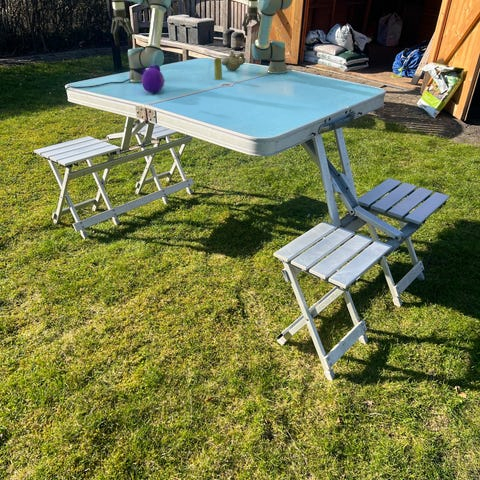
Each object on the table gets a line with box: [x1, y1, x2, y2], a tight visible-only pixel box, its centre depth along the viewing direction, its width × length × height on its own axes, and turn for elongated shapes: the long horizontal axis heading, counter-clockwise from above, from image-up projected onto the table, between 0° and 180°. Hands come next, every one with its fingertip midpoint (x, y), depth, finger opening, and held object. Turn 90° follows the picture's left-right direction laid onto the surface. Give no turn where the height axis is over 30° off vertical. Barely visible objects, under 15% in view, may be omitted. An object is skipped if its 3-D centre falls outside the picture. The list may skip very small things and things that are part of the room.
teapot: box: [221, 50, 246, 72], centre depth 365 cm, size 21×12×15 cm, turn 120°
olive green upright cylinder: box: [213, 57, 223, 80], centre depth 339 cm, size 6×6×14 cm
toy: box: [134, 65, 165, 94], centre depth 304 cm, size 16×18×27 cm
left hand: (124, 45), depth 296 cm, fingers open, 13 cm apart
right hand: (253, 36), depth 367 cm, fingers open, 13 cm apart
